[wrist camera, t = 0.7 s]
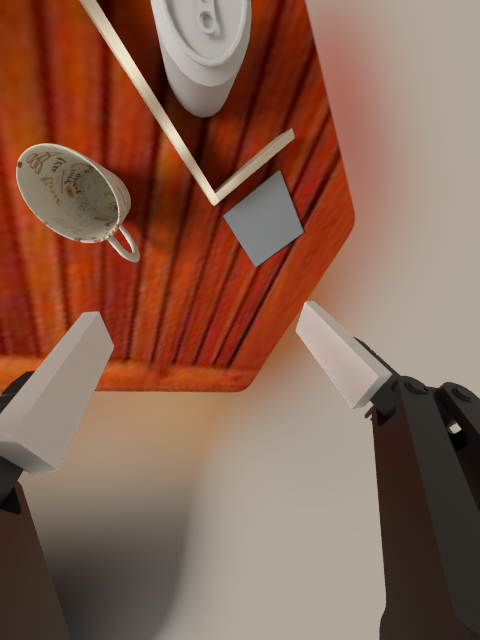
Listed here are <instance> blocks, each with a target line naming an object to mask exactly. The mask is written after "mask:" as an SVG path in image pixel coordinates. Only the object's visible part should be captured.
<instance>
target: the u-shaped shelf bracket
mask: <svg viewBox="0 0 480 640" xmlns="http://www.w3.org/2000/svg"><path fill="white" fill-rule="evenodd" d="M79 1H80V3H81V4H82V6H83V7H84V9H85V10H86V12H87V13H88V15H89V16H90V18H91V20H92V21H93V23H94V24H95V26H96V27H97V29H98V30H99V32H100V33H101V35H102V36H103V38H104V40H105V41H106V43H107V44H108V46H109V47H110V49H111V50H112V52H113V53H114V55H115V56H116V58H117V60H118V61H119V63H120V64H121V66H122V67H123V69H124V70H125V72H126V73H127V75H128V76H129V78H130V80H131V81H132V83H133V84H134V86H135V87H136V89H137V90H138V92H139V93H140V95H141V96H142V98H143V100H144V101H145V103H146V104H147V106H148V107H149V109H150V110H151V112H152V113H153V115H154V116H155V118H156V120H157V121H158V123H159V124H160V126H161V127H162V129H163V130H164V132H165V133H166V135H167V136H168V138H169V140H170V141H171V143H172V144H173V146H174V147H175V149H176V150H177V152H178V153H179V155H180V157H181V158H182V160H183V161H184V163H185V164H186V166H187V167H188V169H189V170H190V172H191V173H192V175H193V177H194V178H195V180H196V181H197V183H198V184H199V186H200V187H201V189H202V190H203V192H204V193H205V195H206V197H207V198H208V200H209V201H210V203H211V204H212V205H214V206H215V205H216V204H217V203H218V202H219V201H221V200H222V199H223V198H224V197H225V196H227V195H228V194H229V193H230V192H231V191H232V190H234V189H235V188H236V187H237V186H238V185H240V184H241V183H242V182H243V181H244V180H245V179H247V178H248V177H249V176H250V175H251V174H253V173H254V172H255V171H256V170H257V169H259V168H260V167H261V166H262V165H263V164H264V163H266V162H267V161H268V160H269V159H270V158H272V157H273V156H274V155H275V154H276V153H278V152H279V151H280V150H281V149H282V148H283V147H285V146H286V145H287V144H288V143H289V142H291V141H292V140H293V139H294V138H295V136H294V133H293V130H292V128H291V129H290V130H288V131H286V132H284V133H283V134H281V135H279V136H277V137H276V138H275V139H274V140H272V141H271V142H270V143H269V144H268V145H267V146H265V147H264V148H263V149H262V150H261V151H260V152H259V153H257V154H256V155H255V156H254V157H253V158H252V159H250V160H249V161H248V162H247V163H246V164H245V165H243V166H242V167H241V168H240V169H239V170H238V171H236V172H235V173H234V174H233V175H232V176H231V177H230V178H228V179H227V180H226V181H225V182H224V183H223V184H221V185H220V186H219V187H218V188H217V189H216V190H214V191H213V189H212V188H211V186H210V185H209V183H208V181H207V180H206V178H205V176H204V175H203V173H202V172H201V170H200V168H199V167H198V165H197V163H196V162H195V160H194V159H193V157H192V155H191V154H190V152H189V150H188V149H187V147H186V146H185V144H184V142H183V141H182V139H181V137H180V136H179V134H178V133H177V131H176V129H175V128H174V126H173V125H172V123H171V121H170V120H169V118H168V116H167V115H166V113H165V112H164V110H163V108H162V107H161V105H160V103H159V102H158V100H157V99H156V97H155V95H154V94H153V92H152V90H151V89H150V87H149V86H148V84H147V82H146V81H145V79H144V77H143V76H142V74H141V73H140V71H139V69H138V68H137V66H136V64H135V63H134V61H133V60H132V58H131V56H130V55H129V53H128V52H127V50H126V48H125V47H124V45H123V43H122V42H121V40H120V39H119V37H118V35H117V34H116V32H115V30H114V29H113V27H112V26H111V24H110V22H109V21H108V19H107V17H106V16H105V14H104V13H103V11H102V9H101V8H100V6H99V4H98V3H97V1H96V0H79Z"/></svg>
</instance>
